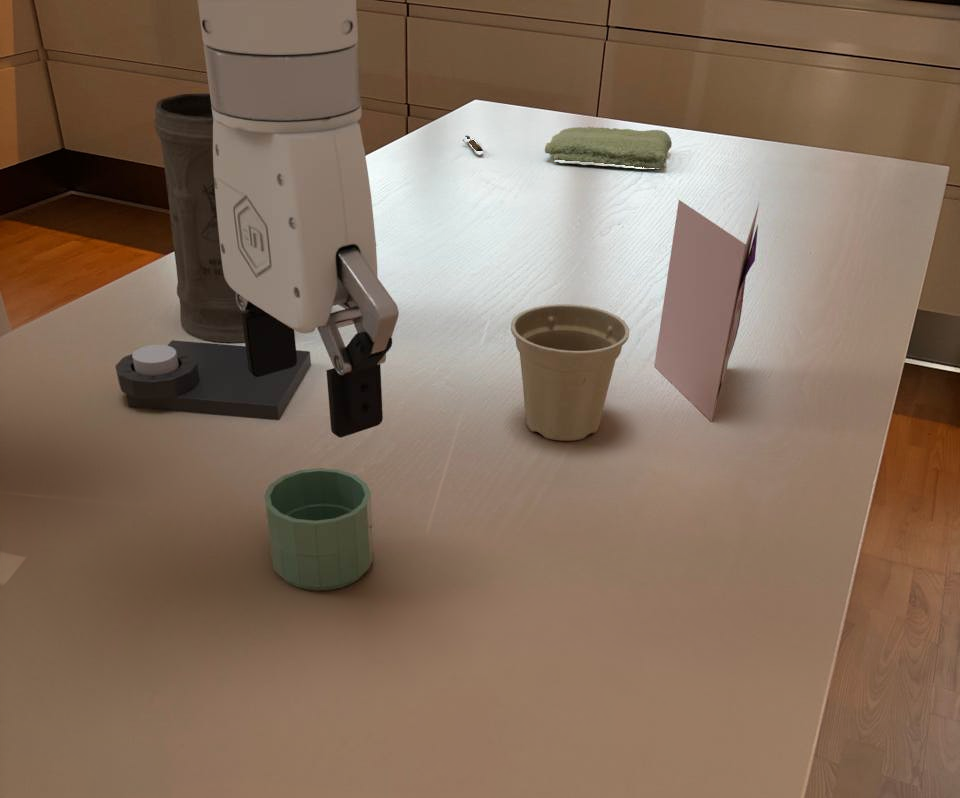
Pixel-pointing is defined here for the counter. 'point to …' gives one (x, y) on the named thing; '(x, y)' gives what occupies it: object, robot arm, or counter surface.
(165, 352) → the button
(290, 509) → the cup
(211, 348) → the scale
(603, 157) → the washcloth
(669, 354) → the greeting card
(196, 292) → the beer stein
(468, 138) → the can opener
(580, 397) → the flower pot
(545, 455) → the counter surface
